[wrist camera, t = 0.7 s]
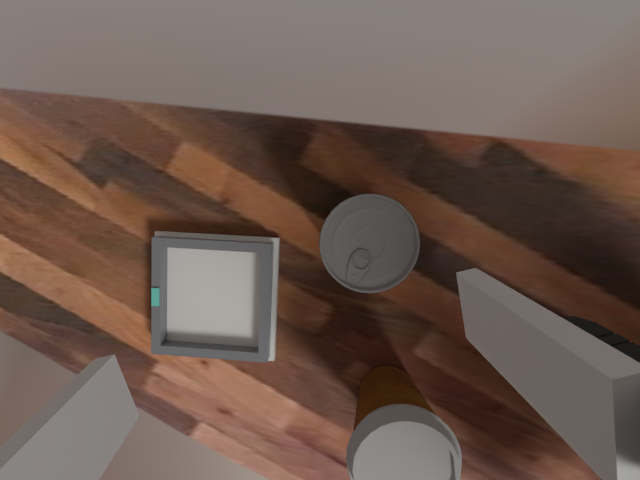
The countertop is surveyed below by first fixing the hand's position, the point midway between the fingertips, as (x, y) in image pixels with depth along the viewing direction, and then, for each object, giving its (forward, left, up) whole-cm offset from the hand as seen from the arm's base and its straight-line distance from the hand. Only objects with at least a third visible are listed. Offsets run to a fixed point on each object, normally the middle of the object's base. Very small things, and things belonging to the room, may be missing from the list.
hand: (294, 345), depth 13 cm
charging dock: (+12, +6, -26) cm, 29 cm away
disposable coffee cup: (-8, +16, -26) cm, 31 cm away
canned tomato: (-4, -2, -26) cm, 26 cm away
